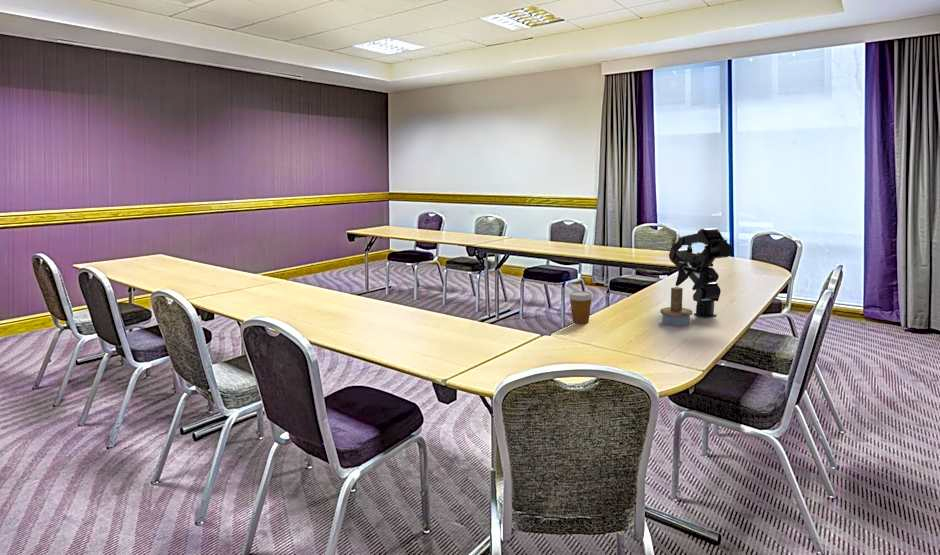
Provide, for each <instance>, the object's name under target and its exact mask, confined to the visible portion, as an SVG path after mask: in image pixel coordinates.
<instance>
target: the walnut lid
mask: <svg viewBox="0 0 940 555" xmlns="http://www.w3.org/2000/svg"><path fill="white" fill-rule="evenodd" d="M670 290H671V291H670V307H663V308H660V310H659V313H660V314H664V315H668V316H689V315H690V316H692V315H693V310H692V309H689V308H685V307H683V292H684V291H683V287H679V286H674V287H671V289H670Z"/></svg>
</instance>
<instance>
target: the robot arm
mask: <svg viewBox="0 0 940 555" xmlns="http://www.w3.org/2000/svg"><path fill="white" fill-rule="evenodd" d="M699 243H701V244H704V245H705V246H704V249H703V250H702V251H701V252H696V253H694V252H693V251H694V250H693V248H692V245H694V244H699ZM683 246H687V248H682V247H683ZM732 254H733V247H732V245H731V244H730V243H728V240H727V239H725V238H724V236H723V235H722V234H721V232H720V231H719V229H718V228H717V227H714V228H713V227H711V228H710V227H709V228H701V229H700V230H698V231H697V233H696V232H695V233H693V234H688V235H681V236H679V237H678V239H677V241H676V242H675V243H674V244H673V245H672V246H671V248H670V251H669V253H668V258H669V260H670V262H671V263H672V264H674V265H675V268H676V270H677V271H678V272H677V277H676V282H675V287H679V286H680V285H682V283H684V282H685V281H686V280H688V279H689V278H690V280H691V281H692V283H693V284H694V285H693V286H692V288H691V289H692V290H693V291H695V292H694V293H693V295H692V300H693V301H694V302H696V306H695V308H696V309H695V312H694V313H693V315H694V316H698V317H701V318H704V319H705V318H712V317H717V316H718V315H717V314H716V313H715V302H719V300H720V296H721V291H722V290H721V288H720V285H719V283H718V282H717V281H718V280H719V276H720V275H719V274H718V272H717V271H716V270H715V268H713V267H714V261H715V260H716V259H724V258H729V257H730V256H731V255H732Z"/></svg>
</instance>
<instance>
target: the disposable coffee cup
mask: <svg viewBox="0 0 940 555" xmlns="http://www.w3.org/2000/svg"><path fill="white" fill-rule="evenodd" d="M593 298H594V296H593V294H592V292H590V291H584V290H579V291H578V290H577V291H576V290H575V291H571V292H570V293H569V295H568V299H569V301H570V303H569V304H570V310H571V315H572V319H571V320H572V323H574V324H576V325H585V324H589V321H590V314H591V306H592V299H593ZM577 323H578V324H577Z"/></svg>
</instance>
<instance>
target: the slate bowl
mask: <svg viewBox="0 0 940 555" xmlns="http://www.w3.org/2000/svg"><path fill="white" fill-rule="evenodd" d="M661 318H662V320H661V322H662V324H664V325H667V326H672V325H673V327H684V326H688V325H690V323H691V322H690V320H691V315H689V316H668V315H664V314H662V316H661Z"/></svg>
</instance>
